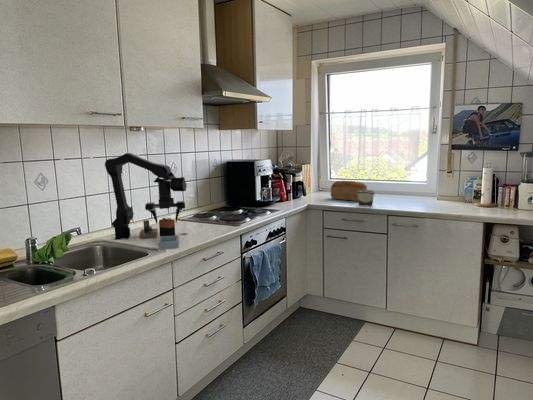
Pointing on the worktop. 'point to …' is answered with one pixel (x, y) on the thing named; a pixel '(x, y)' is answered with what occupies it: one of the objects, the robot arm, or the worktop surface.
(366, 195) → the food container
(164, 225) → the battery
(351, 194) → the bread
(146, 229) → the crank
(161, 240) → the tray
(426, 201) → the worktop surface
